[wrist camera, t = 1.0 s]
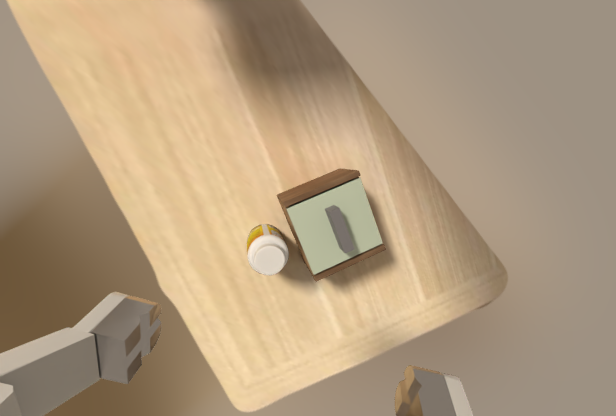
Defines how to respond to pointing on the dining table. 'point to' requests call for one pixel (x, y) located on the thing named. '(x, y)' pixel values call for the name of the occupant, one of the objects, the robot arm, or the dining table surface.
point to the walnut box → (310, 191)
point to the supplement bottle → (266, 249)
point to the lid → (335, 225)
